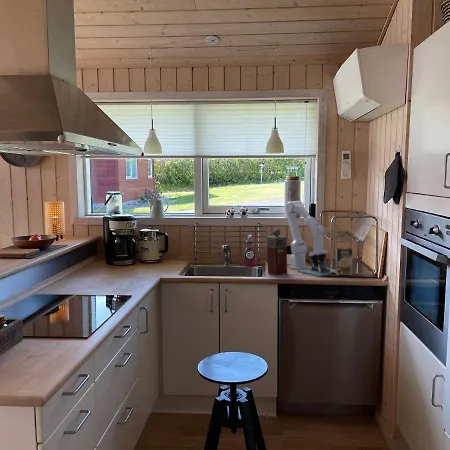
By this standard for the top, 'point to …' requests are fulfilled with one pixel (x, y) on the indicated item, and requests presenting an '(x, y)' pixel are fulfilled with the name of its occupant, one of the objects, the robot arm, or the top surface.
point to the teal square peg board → (316, 273)
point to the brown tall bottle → (277, 253)
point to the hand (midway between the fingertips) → (318, 266)
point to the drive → (320, 265)
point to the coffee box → (343, 261)
